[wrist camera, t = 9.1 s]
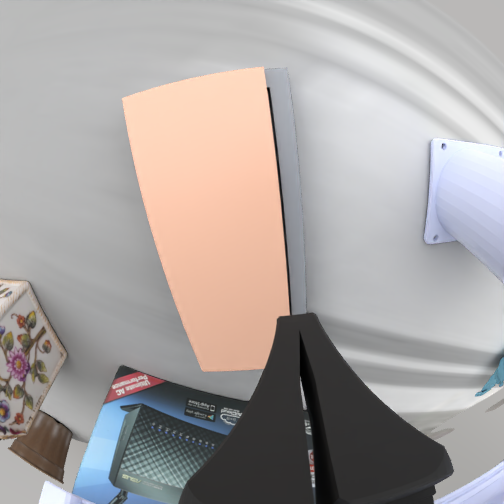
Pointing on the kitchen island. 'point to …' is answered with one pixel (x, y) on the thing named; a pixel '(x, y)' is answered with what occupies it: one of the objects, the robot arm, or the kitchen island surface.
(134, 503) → the router box
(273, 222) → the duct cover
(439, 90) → the kitchen island surface
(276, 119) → the cable duct
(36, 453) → the plant pot
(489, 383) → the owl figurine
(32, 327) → the decorative jar
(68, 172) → the kitchen island surface
